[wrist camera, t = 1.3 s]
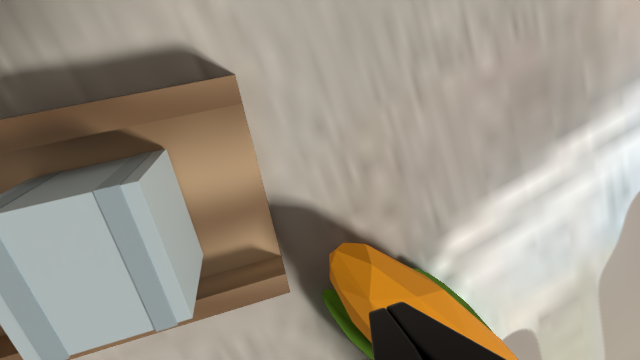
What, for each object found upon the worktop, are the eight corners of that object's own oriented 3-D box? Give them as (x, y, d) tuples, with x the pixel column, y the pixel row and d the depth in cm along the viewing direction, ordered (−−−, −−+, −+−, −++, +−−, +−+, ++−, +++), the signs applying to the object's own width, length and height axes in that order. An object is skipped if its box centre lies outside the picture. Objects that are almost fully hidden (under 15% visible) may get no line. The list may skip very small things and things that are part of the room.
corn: (511, 511, 21) (291, 372, 13) (437, 404, 28) (265, 273, 20) (592, 424, 21) (422, 237, 13) (498, 339, 28) (351, 185, 20)
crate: (203, 255, 18) (192, 320, 13) (84, 288, 17) (28, 371, 12) (165, 147, 16) (136, 180, 11) (27, 178, 15) (-68, 228, 10)
